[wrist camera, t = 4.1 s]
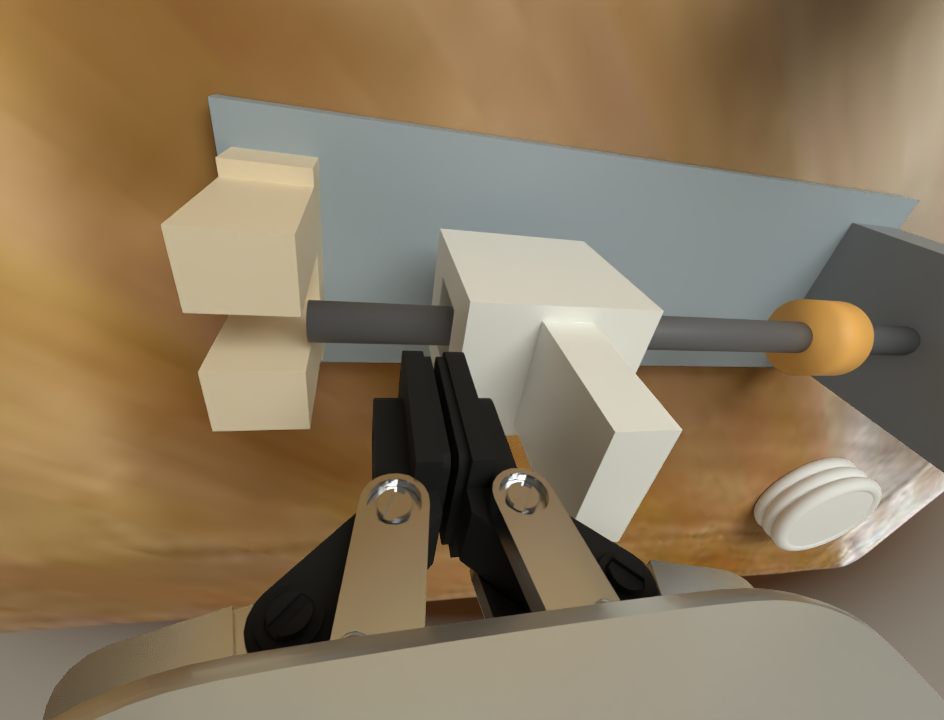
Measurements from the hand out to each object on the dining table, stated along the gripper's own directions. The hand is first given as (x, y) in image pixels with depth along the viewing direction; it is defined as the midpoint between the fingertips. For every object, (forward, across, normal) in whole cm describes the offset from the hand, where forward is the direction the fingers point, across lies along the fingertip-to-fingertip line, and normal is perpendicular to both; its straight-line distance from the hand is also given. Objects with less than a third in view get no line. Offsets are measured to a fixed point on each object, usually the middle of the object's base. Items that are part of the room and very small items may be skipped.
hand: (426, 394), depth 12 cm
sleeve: (+7, -4, 0) cm, 8 cm away
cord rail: (+10, -10, 0) cm, 14 cm away
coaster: (+11, -40, +20) cm, 46 cm away
